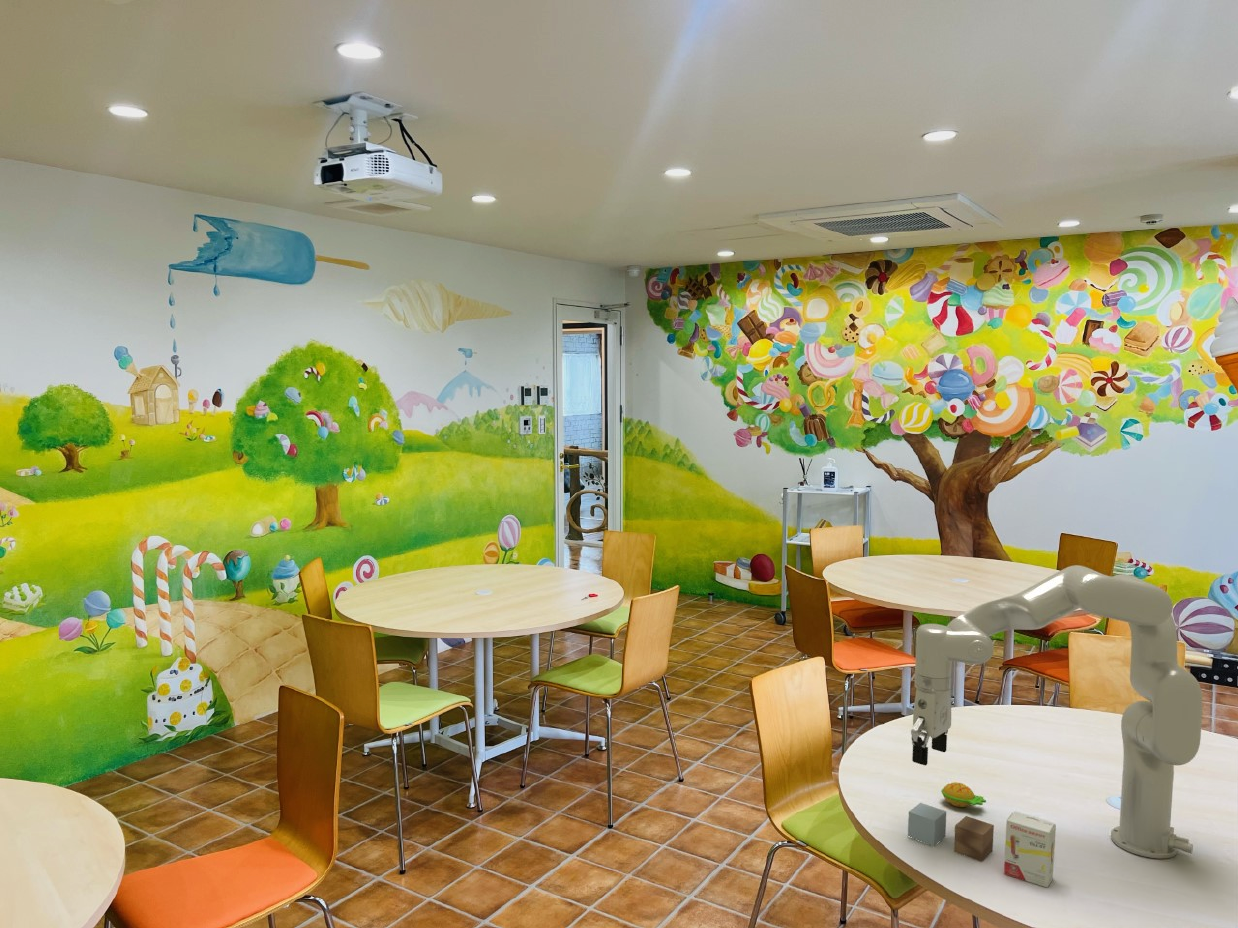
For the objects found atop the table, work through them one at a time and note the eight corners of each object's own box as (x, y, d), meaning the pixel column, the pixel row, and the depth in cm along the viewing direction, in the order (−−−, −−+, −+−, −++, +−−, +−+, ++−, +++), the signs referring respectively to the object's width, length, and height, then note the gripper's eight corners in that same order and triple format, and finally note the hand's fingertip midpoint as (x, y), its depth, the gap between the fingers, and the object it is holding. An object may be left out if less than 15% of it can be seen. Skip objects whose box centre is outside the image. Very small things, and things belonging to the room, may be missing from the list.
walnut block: (992, 851, 193) (993, 824, 192) (981, 862, 188) (983, 834, 188) (964, 841, 197) (966, 815, 196) (953, 851, 192) (955, 825, 192)
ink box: (1002, 873, 184) (1005, 818, 183) (1009, 864, 187) (1011, 809, 186) (1047, 888, 178) (1050, 831, 177) (1053, 878, 182) (1056, 822, 181)
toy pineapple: (947, 795, 219) (948, 774, 219) (989, 808, 212) (990, 786, 212) (936, 804, 214) (937, 783, 213) (978, 818, 207) (979, 796, 207)
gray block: (945, 837, 199) (946, 811, 198) (933, 846, 194) (934, 820, 194) (919, 827, 203) (920, 802, 202) (907, 837, 198) (908, 811, 198)
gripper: (932, 694, 187) (928, 773, 188) (965, 676, 199) (962, 750, 201) (898, 686, 192) (895, 763, 193) (933, 668, 205) (929, 741, 206)
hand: (929, 756), depth 197 cm, fingers open, 9 cm apart
